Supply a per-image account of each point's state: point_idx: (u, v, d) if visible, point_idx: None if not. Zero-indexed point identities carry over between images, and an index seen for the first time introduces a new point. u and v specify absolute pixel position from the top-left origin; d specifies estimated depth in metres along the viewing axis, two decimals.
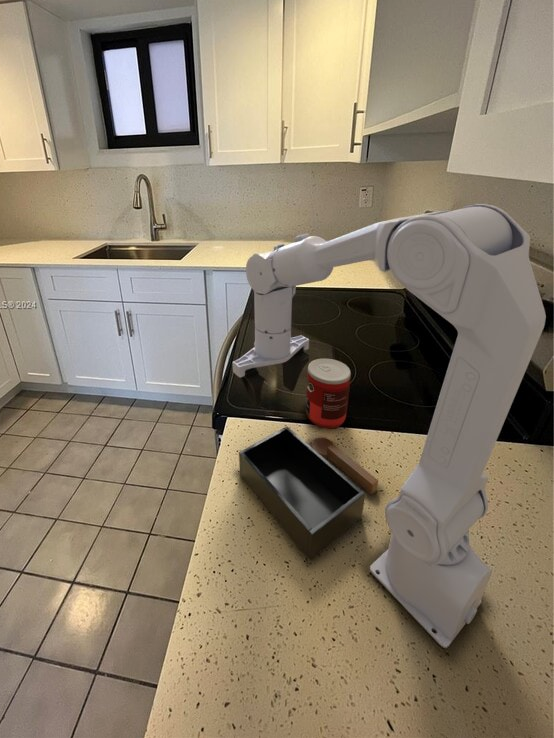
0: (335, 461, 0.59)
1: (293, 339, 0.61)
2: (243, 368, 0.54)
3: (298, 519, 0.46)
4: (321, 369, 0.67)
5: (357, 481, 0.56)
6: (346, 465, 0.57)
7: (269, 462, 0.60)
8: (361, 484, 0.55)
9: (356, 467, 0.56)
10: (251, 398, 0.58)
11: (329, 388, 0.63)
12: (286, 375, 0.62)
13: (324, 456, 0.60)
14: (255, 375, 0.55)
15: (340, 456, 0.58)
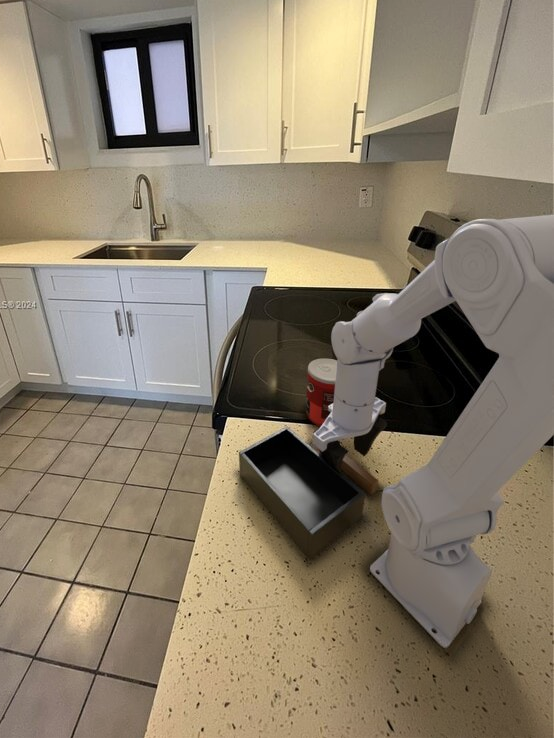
0: None
1: None
2: (326, 442, 0.51)
3: (298, 519, 0.46)
4: (321, 369, 0.67)
5: (357, 481, 0.56)
6: (346, 465, 0.57)
7: (269, 462, 0.60)
8: (361, 484, 0.55)
9: (356, 467, 0.56)
10: None
11: (329, 388, 0.63)
12: (358, 439, 0.59)
13: None
14: (338, 446, 0.52)
15: None
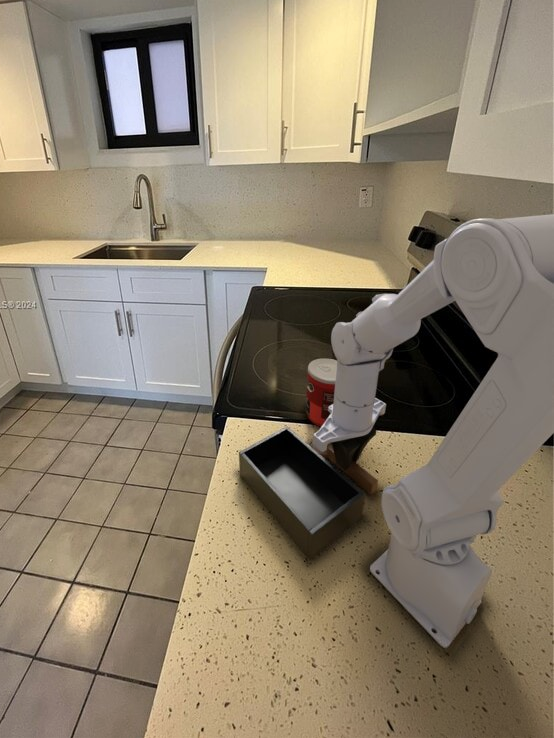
0: (335, 461, 0.59)
1: None
2: (326, 443, 0.51)
3: (298, 519, 0.46)
4: (321, 369, 0.67)
5: (357, 481, 0.56)
6: None
7: (269, 462, 0.60)
8: (361, 484, 0.55)
9: (356, 467, 0.56)
10: (339, 459, 0.57)
11: (329, 388, 0.63)
12: None
13: (324, 456, 0.60)
14: (349, 440, 0.53)
15: None
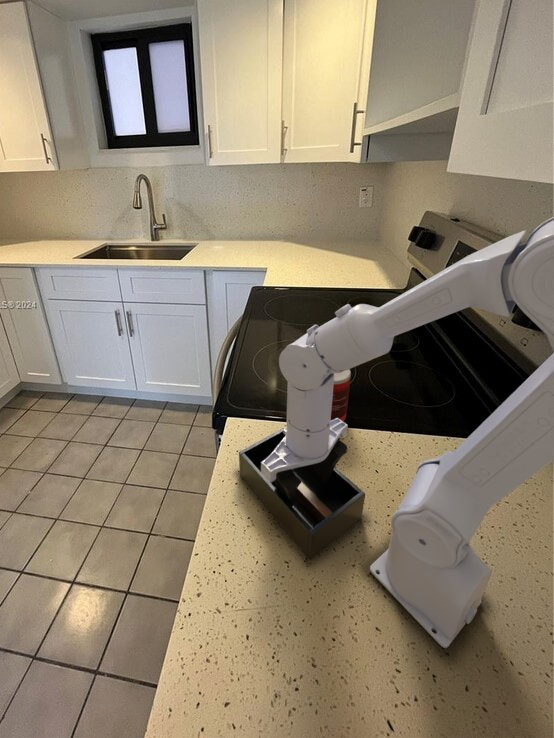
0: None
1: None
2: (274, 472, 0.45)
3: (298, 519, 0.46)
4: None
5: (314, 515, 0.50)
6: (303, 496, 0.52)
7: None
8: (317, 519, 0.50)
9: (313, 499, 0.51)
10: (283, 496, 0.50)
11: None
12: (318, 464, 0.53)
13: None
14: (290, 476, 0.46)
15: None
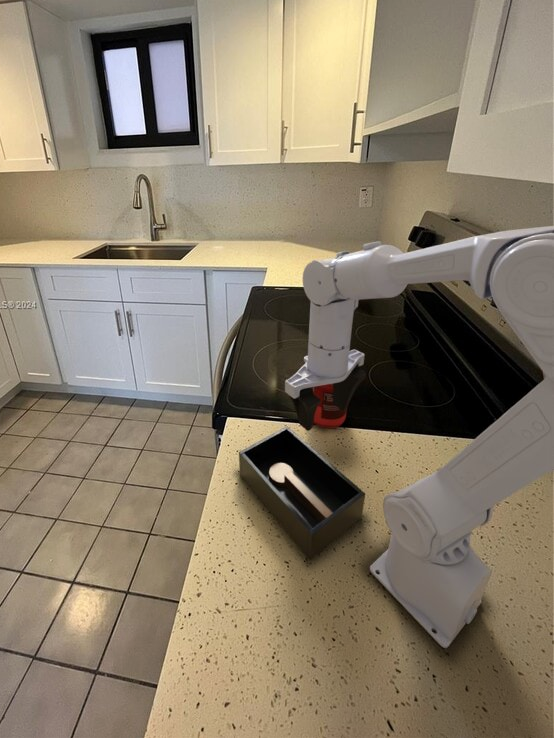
0: (292, 491, 0.54)
1: None
2: (298, 388, 0.48)
3: (298, 519, 0.46)
4: None
5: (314, 515, 0.50)
6: (303, 496, 0.52)
7: (269, 462, 0.60)
8: (317, 519, 0.50)
9: (313, 499, 0.51)
10: (302, 420, 0.53)
11: (329, 388, 0.63)
12: (337, 393, 0.56)
13: (281, 484, 0.55)
14: (310, 395, 0.49)
15: (297, 485, 0.53)
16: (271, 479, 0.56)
